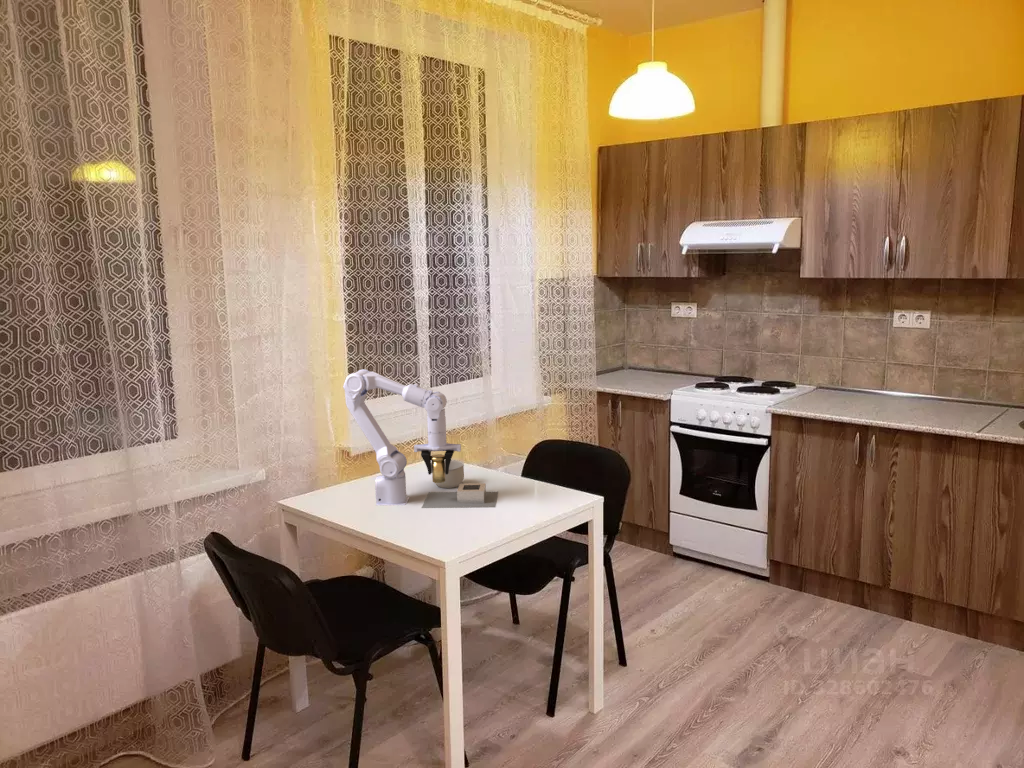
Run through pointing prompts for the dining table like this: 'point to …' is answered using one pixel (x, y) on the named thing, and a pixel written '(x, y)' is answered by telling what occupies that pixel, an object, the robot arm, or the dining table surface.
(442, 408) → the robot arm
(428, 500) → the mat
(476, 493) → the block
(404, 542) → the dining table surface
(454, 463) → the teacup
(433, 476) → the brass door knob
